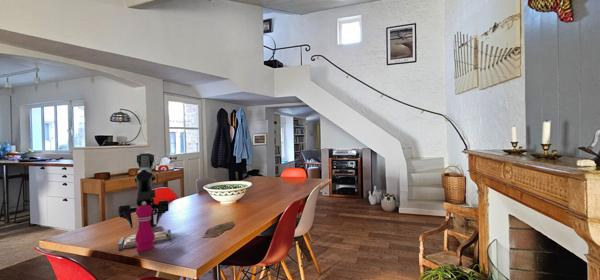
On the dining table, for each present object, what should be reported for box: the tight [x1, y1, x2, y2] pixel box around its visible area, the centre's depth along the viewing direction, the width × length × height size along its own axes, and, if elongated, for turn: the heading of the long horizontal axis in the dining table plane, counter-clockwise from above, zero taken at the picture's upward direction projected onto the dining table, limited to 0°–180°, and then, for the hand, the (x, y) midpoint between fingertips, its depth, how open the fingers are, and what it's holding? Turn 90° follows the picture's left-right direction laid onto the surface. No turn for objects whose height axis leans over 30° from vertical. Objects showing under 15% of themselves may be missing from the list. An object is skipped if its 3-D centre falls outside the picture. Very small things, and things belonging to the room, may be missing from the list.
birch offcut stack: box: [124, 230, 167, 246], centre depth 121 cm, size 8×16×2 cm, turn 118°
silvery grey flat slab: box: [118, 229, 172, 250], centre depth 121 cm, size 8×20×2 cm, turn 118°
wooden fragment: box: [202, 220, 236, 239], centre depth 136 cm, size 26×11×1 cm, turn 161°
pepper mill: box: [135, 201, 155, 252], centre depth 114 cm, size 7×7×20 cm
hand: (144, 225), depth 113 cm, fingers open, 9 cm apart
